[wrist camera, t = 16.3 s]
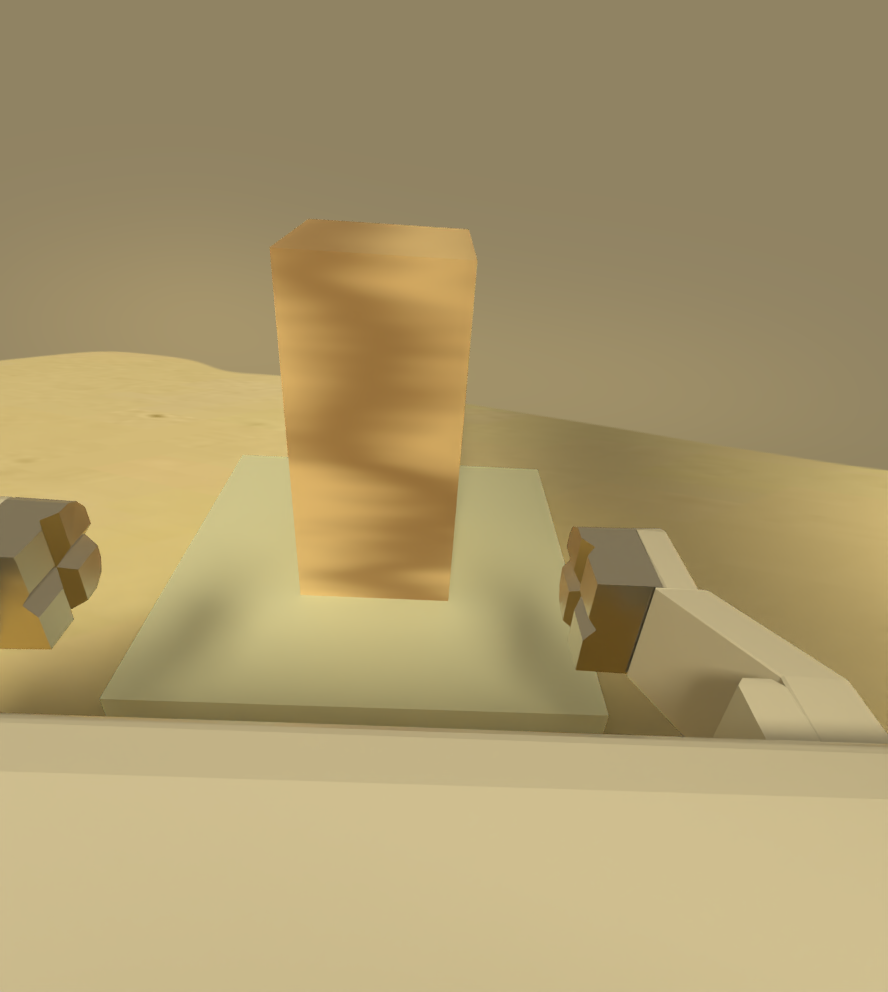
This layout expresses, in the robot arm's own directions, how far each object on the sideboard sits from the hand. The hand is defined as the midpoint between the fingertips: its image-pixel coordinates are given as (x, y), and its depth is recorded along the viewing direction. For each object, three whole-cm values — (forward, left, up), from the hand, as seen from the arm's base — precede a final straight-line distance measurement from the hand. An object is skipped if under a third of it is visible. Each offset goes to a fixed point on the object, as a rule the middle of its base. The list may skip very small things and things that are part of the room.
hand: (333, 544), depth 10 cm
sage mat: (0, -10, -8) cm, 13 cm away
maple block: (0, -10, -8) cm, 12 cm away
